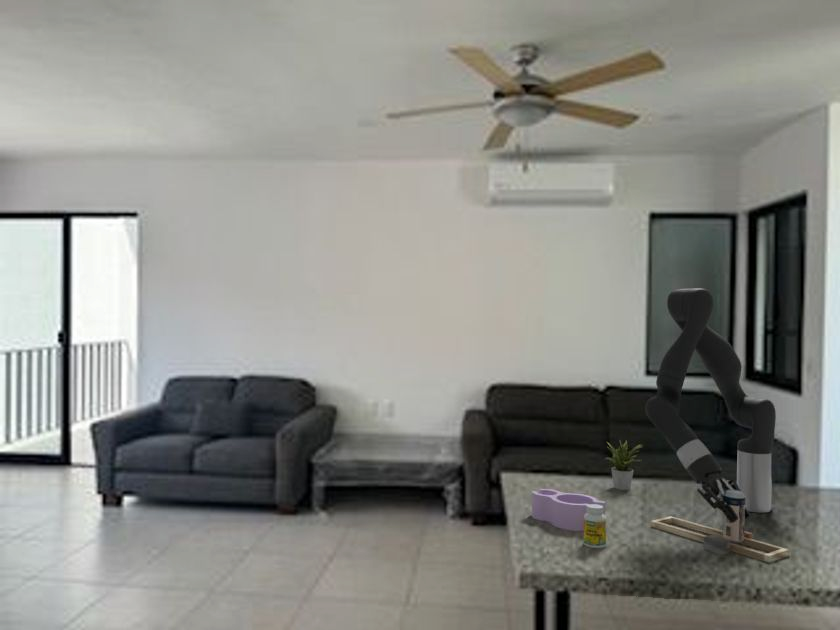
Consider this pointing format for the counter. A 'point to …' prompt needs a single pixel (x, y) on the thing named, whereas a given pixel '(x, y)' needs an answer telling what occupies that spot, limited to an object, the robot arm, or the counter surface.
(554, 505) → the clip
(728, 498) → the beer can
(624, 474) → the house plant
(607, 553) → the counter surface
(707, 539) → the beam track
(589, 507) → the supplement bottle
